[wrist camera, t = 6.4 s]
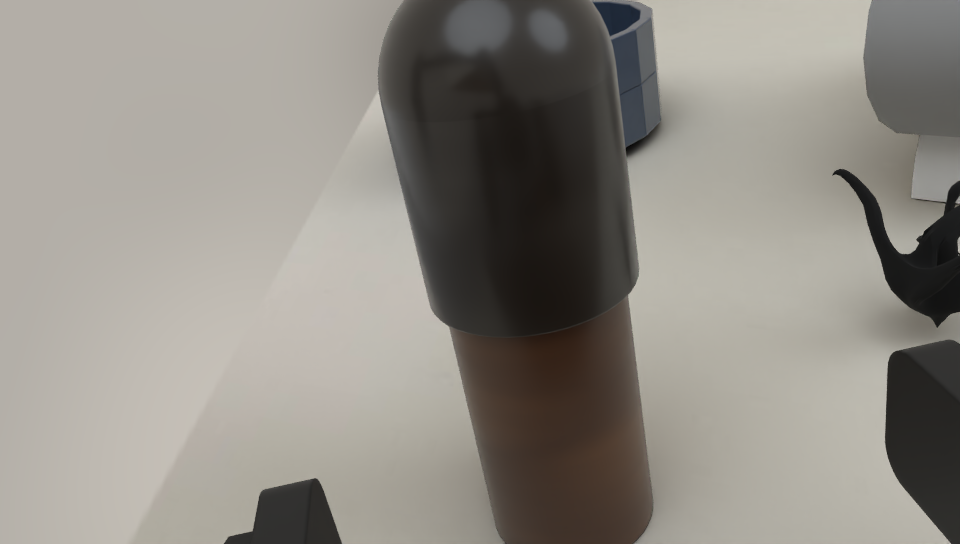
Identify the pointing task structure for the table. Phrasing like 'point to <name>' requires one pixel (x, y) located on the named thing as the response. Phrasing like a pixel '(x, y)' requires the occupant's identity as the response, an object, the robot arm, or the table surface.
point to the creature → (919, 257)
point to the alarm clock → (918, 84)
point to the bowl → (634, 64)
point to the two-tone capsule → (527, 251)
